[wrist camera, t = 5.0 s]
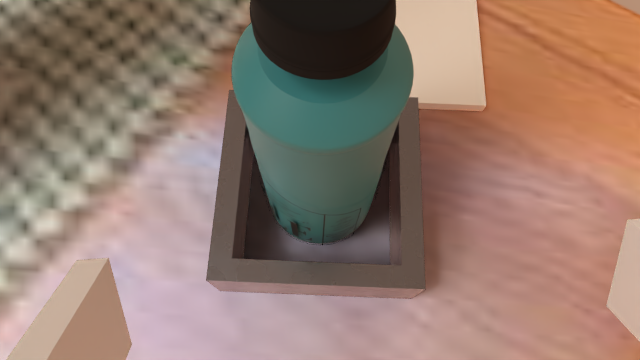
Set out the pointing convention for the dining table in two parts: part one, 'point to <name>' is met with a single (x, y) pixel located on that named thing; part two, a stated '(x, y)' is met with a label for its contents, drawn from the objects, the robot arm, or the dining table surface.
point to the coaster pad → (444, 53)
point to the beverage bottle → (321, 107)
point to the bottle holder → (319, 277)
